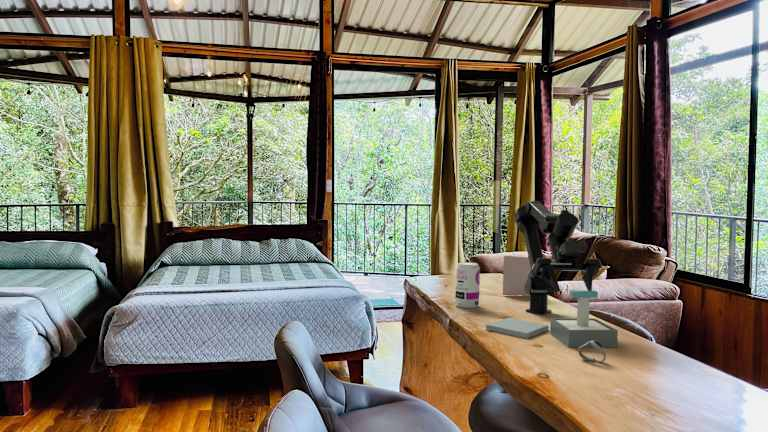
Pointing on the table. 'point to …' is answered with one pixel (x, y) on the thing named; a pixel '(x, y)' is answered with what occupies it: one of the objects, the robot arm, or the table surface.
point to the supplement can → (467, 285)
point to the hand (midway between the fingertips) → (574, 291)
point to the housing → (583, 334)
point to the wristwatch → (597, 346)
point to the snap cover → (583, 313)
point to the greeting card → (515, 275)
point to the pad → (517, 327)
